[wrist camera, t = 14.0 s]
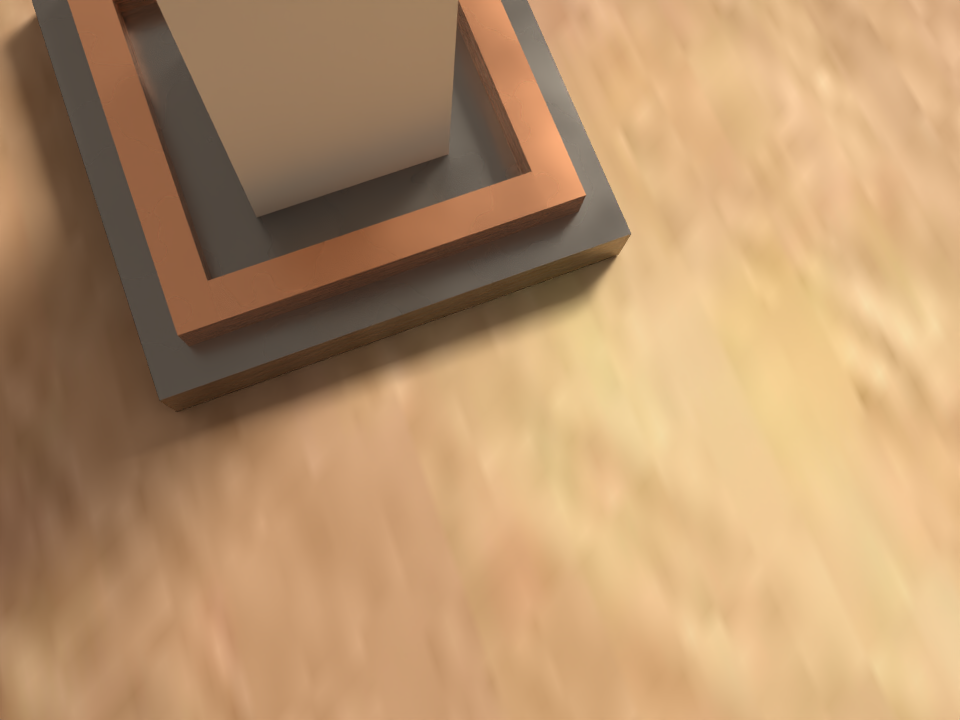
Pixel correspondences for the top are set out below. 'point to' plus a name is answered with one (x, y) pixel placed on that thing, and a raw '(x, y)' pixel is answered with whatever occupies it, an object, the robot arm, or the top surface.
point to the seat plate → (321, 203)
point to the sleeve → (320, 88)
